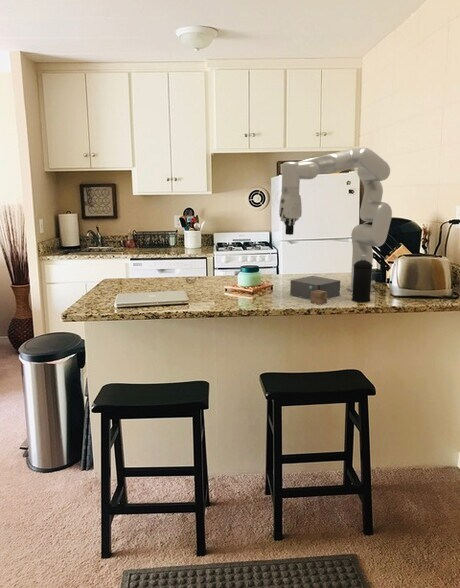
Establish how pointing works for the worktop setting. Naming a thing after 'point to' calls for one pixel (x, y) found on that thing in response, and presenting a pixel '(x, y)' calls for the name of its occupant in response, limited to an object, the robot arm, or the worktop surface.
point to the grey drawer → (302, 289)
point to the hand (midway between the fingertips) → (289, 234)
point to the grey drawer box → (324, 284)
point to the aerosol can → (362, 280)
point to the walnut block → (318, 297)
